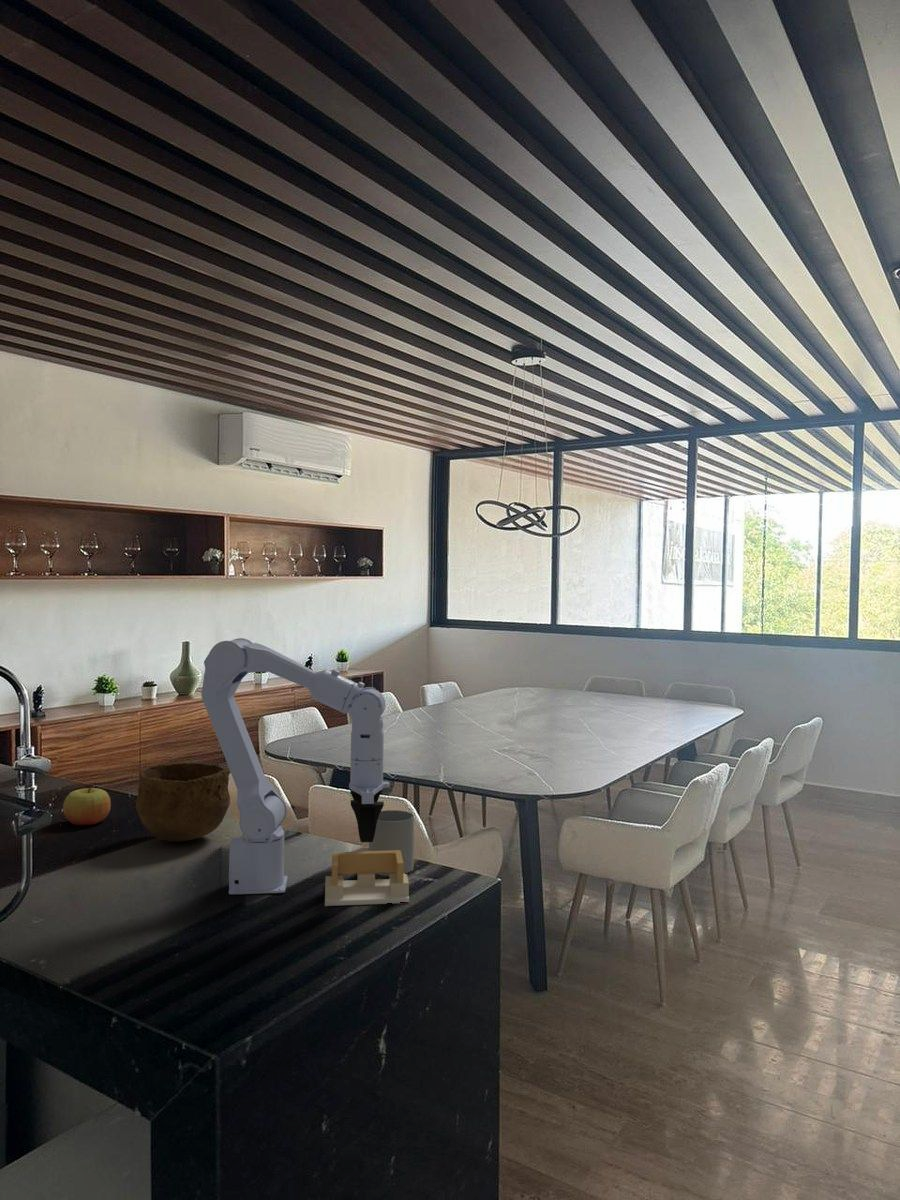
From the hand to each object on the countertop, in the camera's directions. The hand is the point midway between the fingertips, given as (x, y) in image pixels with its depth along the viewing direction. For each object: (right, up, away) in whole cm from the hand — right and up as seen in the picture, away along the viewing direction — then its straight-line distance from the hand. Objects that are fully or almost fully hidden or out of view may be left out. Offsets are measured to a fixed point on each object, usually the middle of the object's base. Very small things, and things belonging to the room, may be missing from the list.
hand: (366, 835), depth 151 cm
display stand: (0, -9, -2) cm, 10 cm away
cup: (+4, -10, +12) cm, 16 cm away
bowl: (-41, -9, +29) cm, 51 cm away
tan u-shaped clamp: (0, -6, -3) cm, 7 cm away
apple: (-67, -9, +42) cm, 79 cm away
